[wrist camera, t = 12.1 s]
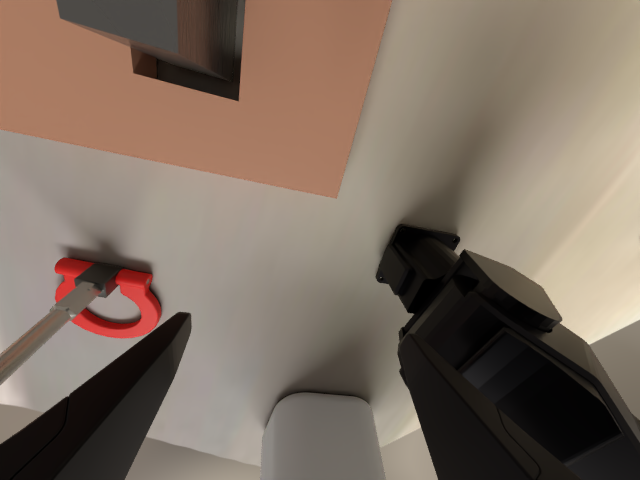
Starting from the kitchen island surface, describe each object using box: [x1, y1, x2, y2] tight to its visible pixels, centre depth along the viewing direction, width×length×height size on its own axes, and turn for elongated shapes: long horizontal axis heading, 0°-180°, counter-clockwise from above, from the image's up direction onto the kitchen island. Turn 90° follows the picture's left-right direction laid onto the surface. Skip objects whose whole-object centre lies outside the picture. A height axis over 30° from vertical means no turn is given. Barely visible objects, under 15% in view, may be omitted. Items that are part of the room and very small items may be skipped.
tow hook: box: [0, 258, 161, 385], centre depth 17 cm, size 8×13×9 cm
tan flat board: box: [0, 0, 392, 199], centre depth 12 cm, size 20×16×2 cm
